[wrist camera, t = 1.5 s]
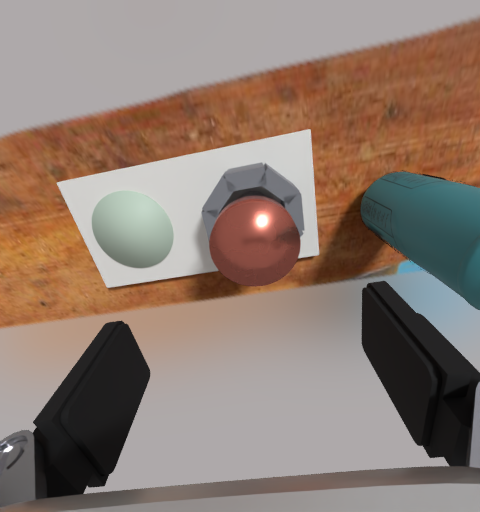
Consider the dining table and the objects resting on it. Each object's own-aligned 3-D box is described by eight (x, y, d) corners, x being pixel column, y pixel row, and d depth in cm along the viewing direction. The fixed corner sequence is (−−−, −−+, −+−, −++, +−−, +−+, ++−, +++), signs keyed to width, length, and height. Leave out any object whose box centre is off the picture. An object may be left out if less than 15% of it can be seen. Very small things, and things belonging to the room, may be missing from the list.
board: (308, 129, 24) (321, 128, 20) (317, 251, 30) (329, 272, 25) (62, 181, 27) (25, 190, 23) (111, 283, 33) (89, 307, 28)
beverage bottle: (341, 219, 28) (507, 370, 10) (372, 157, 25) (676, 213, 7) (395, 236, 29) (641, 406, 11) (430, 177, 26) (844, 274, 8)
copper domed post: (288, 181, 26) (309, 207, 17) (278, 240, 28) (291, 290, 19) (224, 175, 26) (210, 197, 17) (220, 235, 28) (207, 282, 19)
